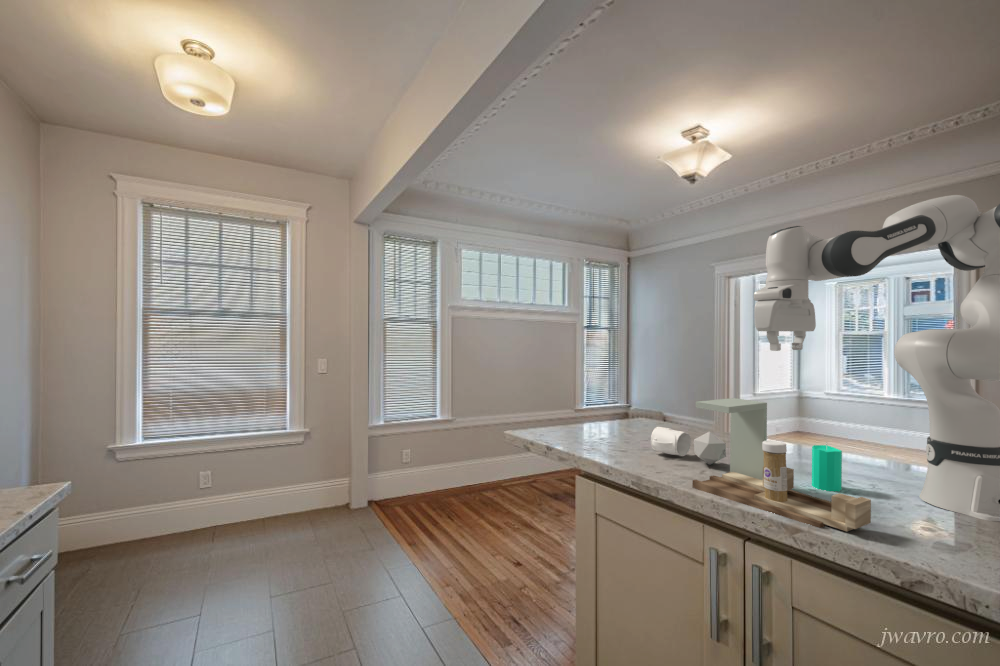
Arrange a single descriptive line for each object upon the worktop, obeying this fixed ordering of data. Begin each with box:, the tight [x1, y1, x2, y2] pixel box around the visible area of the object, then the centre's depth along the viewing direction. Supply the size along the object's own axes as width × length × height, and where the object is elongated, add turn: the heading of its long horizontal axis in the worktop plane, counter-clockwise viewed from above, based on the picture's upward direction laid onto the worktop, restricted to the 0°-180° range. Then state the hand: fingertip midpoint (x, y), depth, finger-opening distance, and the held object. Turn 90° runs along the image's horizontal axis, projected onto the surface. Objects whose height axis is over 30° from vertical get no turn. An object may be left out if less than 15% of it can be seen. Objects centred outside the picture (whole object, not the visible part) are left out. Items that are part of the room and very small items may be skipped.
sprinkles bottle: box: [762, 440, 788, 502], centre depth 99 cm, size 5×5×13 cm
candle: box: [811, 442, 843, 492], centre depth 112 cm, size 6×6×12 cm
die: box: [693, 431, 727, 466], centre depth 132 cm, size 8×9×10 cm
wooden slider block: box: [721, 466, 795, 491], centre depth 110 cm, size 15×6×6 cm, turn 29°
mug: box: [650, 426, 693, 457], centre depth 144 cm, size 12×9×8 cm
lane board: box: [691, 471, 832, 529], centre depth 104 cm, size 29×15×2 cm, turn 29°
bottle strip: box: [754, 492, 872, 532], centre depth 93 cm, size 20×6×6 cm, turn 29°
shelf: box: [695, 397, 768, 480], centre depth 113 cm, size 9×15×22 cm, turn 119°
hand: (786, 350), depth 110 cm, fingers open, 8 cm apart
